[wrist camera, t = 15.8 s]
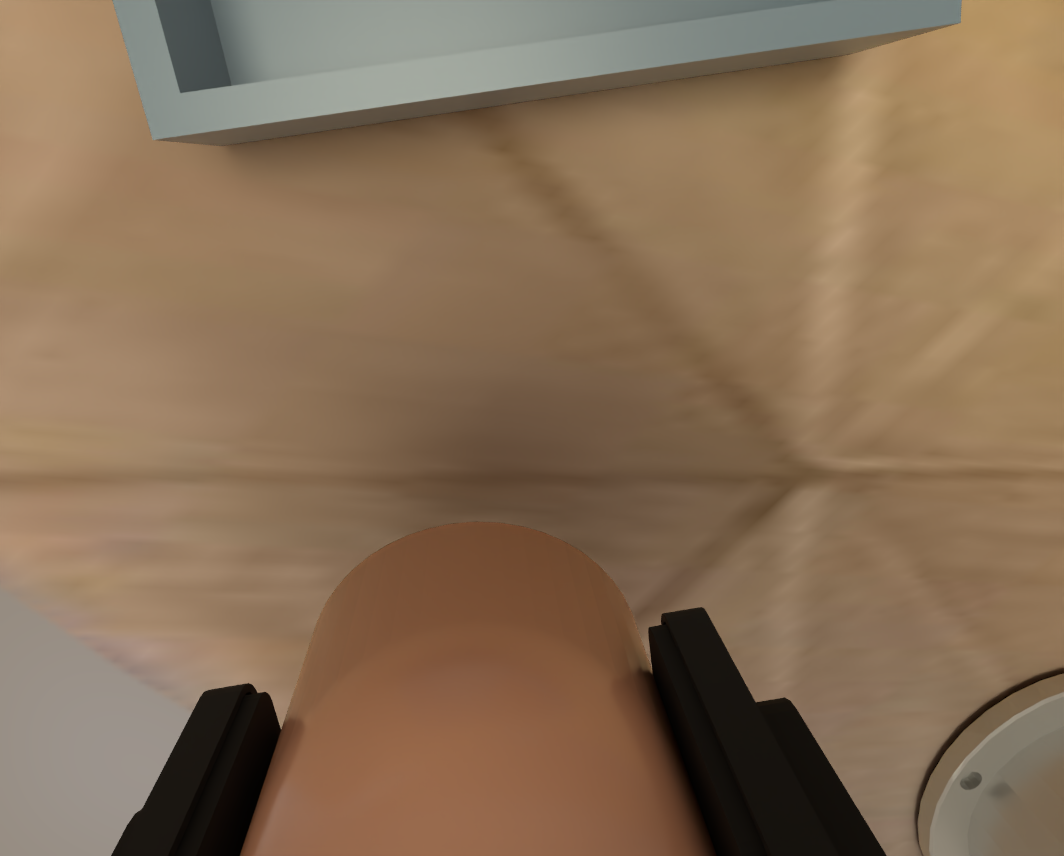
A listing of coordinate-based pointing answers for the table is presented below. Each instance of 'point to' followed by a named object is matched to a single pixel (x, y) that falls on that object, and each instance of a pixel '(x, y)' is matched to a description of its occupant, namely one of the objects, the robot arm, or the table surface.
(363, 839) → the salmon orange cylinder
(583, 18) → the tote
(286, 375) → the table surface
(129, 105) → the table surface
